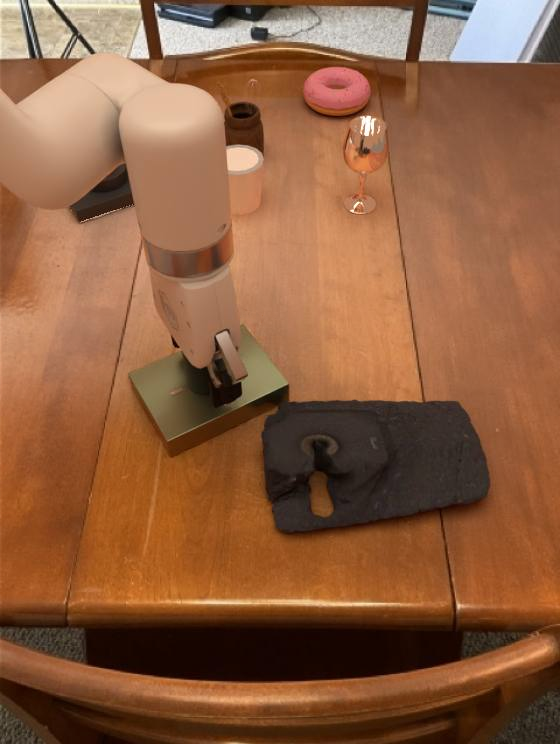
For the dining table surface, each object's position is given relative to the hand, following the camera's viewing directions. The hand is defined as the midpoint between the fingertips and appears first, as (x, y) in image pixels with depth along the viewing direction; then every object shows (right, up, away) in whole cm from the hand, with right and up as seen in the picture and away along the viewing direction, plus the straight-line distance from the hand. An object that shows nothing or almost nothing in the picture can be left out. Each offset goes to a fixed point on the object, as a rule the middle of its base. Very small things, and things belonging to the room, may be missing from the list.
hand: (206, 369), depth 70 cm
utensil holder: (+2, +32, +32) cm, 46 cm away
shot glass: (+2, +23, +25) cm, 34 cm away
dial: (0, -1, +1) cm, 1 cm away
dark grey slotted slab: (+17, -10, -2) cm, 19 cm away
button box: (-17, +25, +26) cm, 40 cm away
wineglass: (+19, +23, +24) cm, 38 cm away
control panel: (0, -3, +3) cm, 4 cm away
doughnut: (+17, +44, +41) cm, 62 cm away
